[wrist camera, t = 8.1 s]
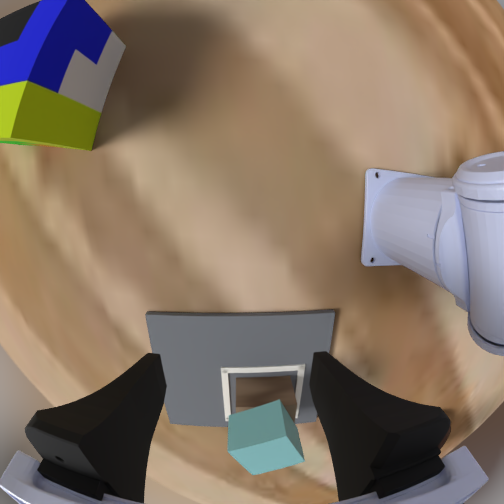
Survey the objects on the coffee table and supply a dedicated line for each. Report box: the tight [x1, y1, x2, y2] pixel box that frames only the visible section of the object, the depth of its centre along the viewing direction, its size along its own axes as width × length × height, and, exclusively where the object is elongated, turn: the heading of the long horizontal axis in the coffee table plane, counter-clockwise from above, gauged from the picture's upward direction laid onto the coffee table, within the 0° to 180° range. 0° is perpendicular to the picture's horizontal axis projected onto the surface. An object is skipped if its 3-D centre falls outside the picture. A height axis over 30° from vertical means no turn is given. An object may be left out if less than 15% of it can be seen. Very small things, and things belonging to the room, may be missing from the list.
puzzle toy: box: [0, 0, 126, 151], centre depth 12 cm, size 10×10×10 cm
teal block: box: [228, 399, 305, 475], centre depth 18 cm, size 4×4×4 cm
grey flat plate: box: [145, 310, 335, 427], centre depth 24 cm, size 16×14×1 cm
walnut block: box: [236, 376, 297, 423], centre depth 22 cm, size 5×5×4 cm
